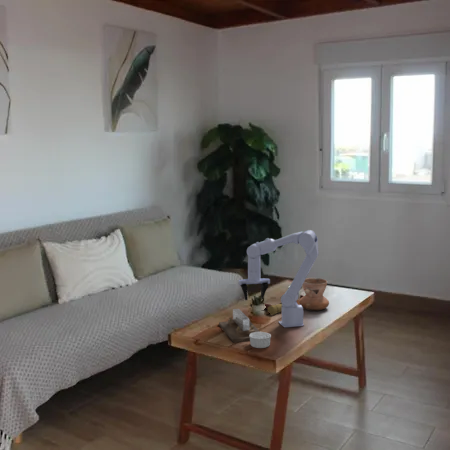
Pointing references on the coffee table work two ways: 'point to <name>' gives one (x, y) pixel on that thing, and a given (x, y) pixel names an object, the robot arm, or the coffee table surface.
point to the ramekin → (260, 339)
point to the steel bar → (241, 319)
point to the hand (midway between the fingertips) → (254, 299)
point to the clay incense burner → (314, 294)
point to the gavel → (274, 308)
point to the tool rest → (237, 331)
